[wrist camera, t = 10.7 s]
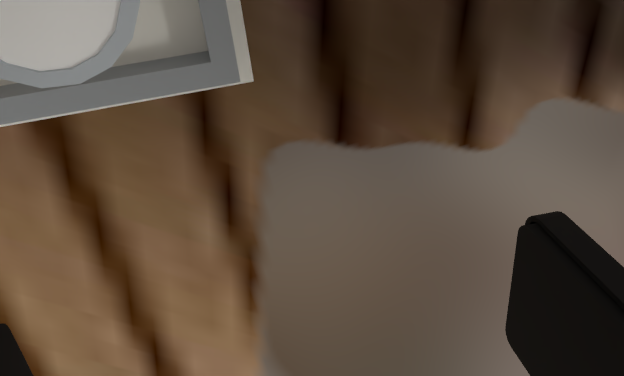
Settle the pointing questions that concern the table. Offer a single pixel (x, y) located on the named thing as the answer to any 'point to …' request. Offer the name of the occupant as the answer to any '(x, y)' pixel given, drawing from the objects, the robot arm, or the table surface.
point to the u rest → (149, 63)
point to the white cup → (62, 39)
